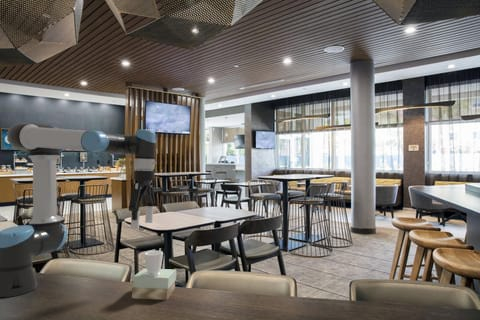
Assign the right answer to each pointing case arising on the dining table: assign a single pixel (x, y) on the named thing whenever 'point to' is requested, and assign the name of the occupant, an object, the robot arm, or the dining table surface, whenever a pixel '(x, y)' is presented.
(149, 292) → the bottom block
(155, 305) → the dining table surface
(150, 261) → the cup
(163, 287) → the top block
